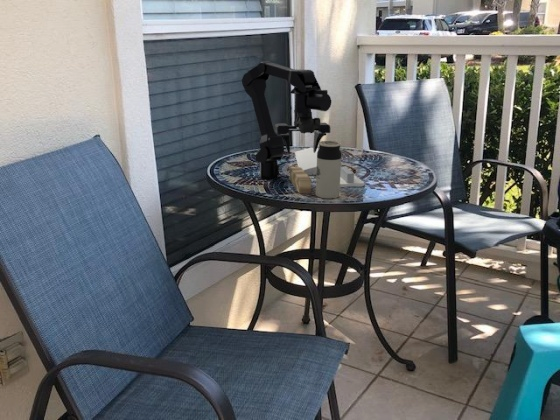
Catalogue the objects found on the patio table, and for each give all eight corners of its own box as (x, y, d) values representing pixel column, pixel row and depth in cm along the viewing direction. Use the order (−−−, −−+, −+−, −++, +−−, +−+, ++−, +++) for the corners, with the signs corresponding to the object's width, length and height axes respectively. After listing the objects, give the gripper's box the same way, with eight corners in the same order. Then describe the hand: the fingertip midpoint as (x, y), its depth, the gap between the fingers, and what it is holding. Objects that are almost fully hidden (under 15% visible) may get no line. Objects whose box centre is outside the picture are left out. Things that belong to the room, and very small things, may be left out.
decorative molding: (302, 183, 218) (327, 176, 217) (299, 171, 216) (324, 164, 216) (297, 162, 250) (319, 156, 250) (294, 151, 249) (316, 146, 248)
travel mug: (338, 192, 195) (341, 140, 189) (339, 199, 187) (342, 145, 182) (315, 192, 195) (317, 140, 190) (315, 198, 188) (317, 145, 182)
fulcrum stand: (337, 186, 202) (338, 174, 200) (328, 178, 213) (329, 166, 211) (364, 185, 203) (365, 173, 202) (354, 177, 215) (354, 165, 213)
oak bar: (310, 193, 194) (311, 179, 193) (299, 194, 194) (299, 180, 192) (300, 180, 211) (300, 167, 209) (289, 180, 210) (289, 167, 209)
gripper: (281, 111, 184) (280, 159, 189) (336, 111, 188) (334, 157, 193) (274, 107, 195) (273, 151, 200) (326, 106, 198) (324, 150, 203)
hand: (301, 152), depth 199 cm, fingers open, 9 cm apart
